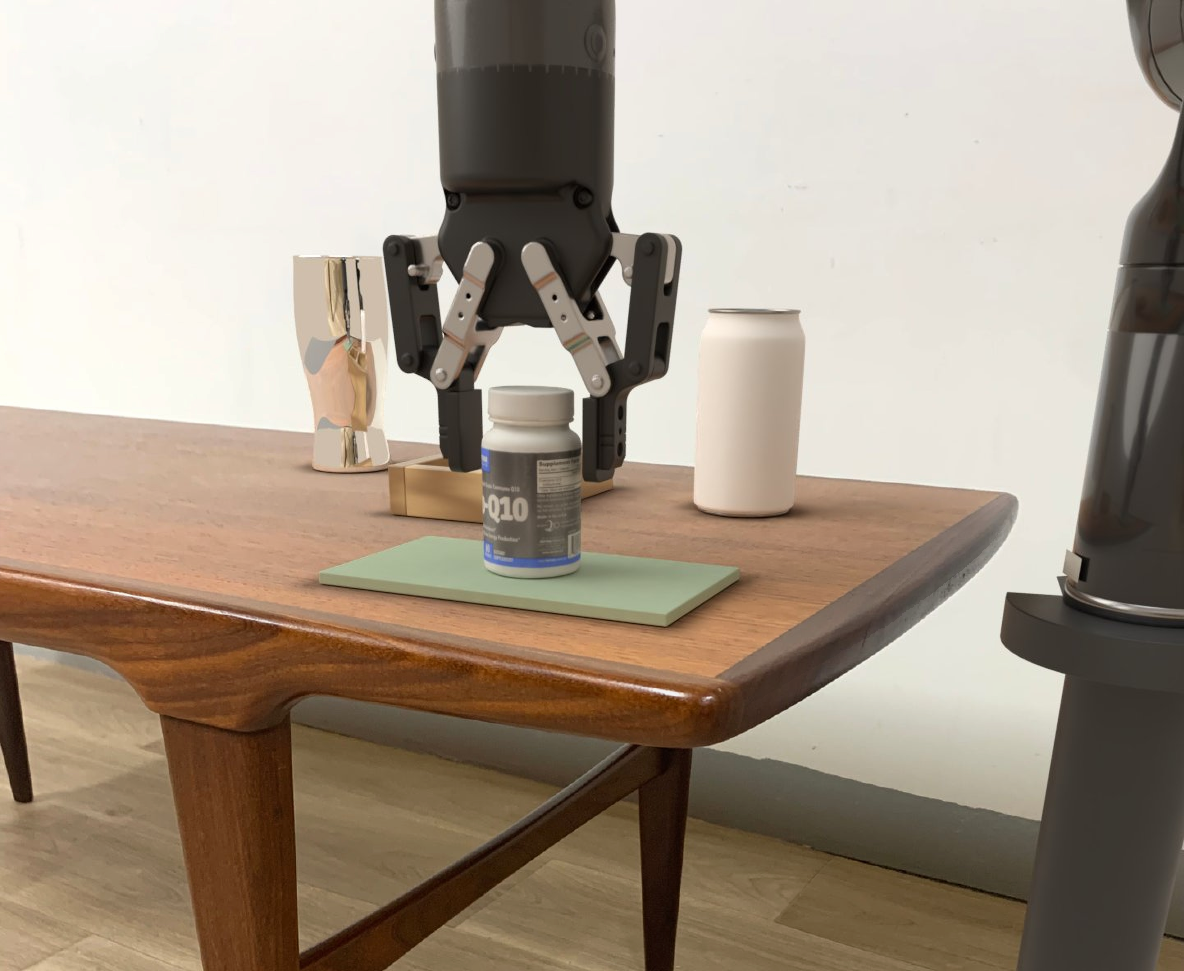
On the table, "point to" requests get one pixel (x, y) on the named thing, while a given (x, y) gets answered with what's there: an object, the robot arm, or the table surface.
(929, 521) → the table surface
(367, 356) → the beer glass
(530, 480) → the pill bottle
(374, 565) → the mat
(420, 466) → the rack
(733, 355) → the can
